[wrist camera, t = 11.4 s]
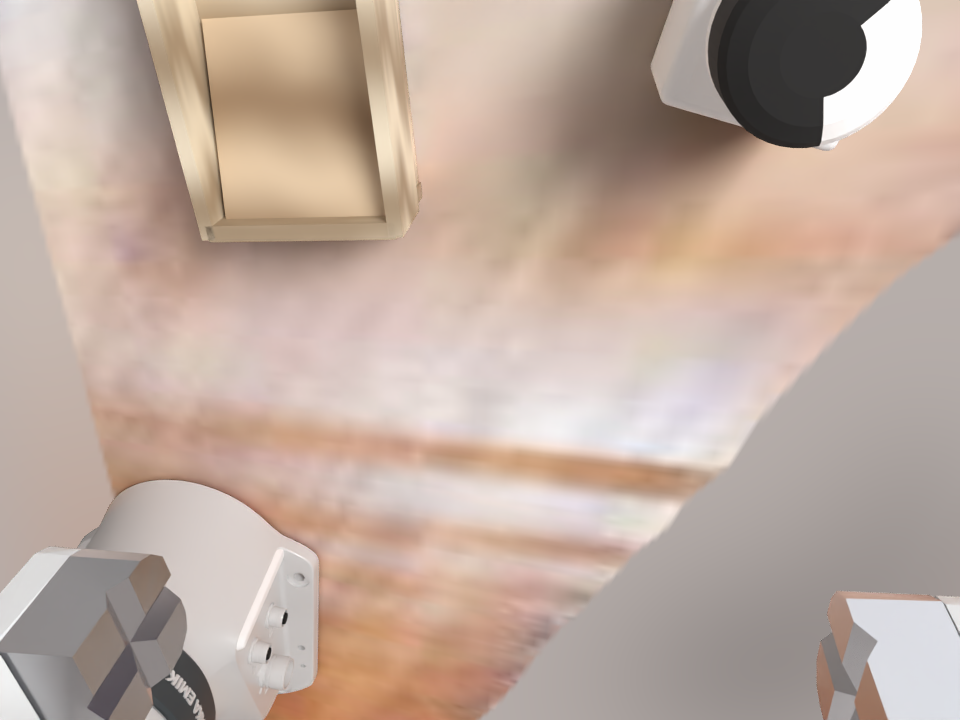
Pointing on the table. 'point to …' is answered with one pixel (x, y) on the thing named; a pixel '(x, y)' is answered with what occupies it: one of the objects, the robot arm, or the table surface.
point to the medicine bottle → (788, 64)
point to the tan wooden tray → (288, 116)
